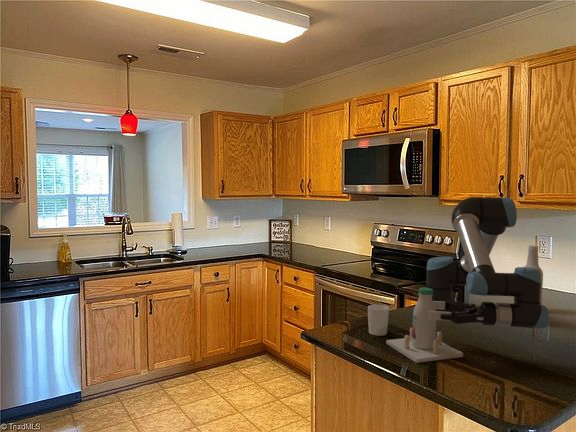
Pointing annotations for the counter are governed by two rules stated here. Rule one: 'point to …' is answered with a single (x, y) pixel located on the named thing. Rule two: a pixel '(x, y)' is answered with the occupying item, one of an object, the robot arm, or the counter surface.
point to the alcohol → (534, 263)
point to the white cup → (378, 319)
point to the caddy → (424, 355)
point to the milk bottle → (424, 321)
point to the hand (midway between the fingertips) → (427, 309)
